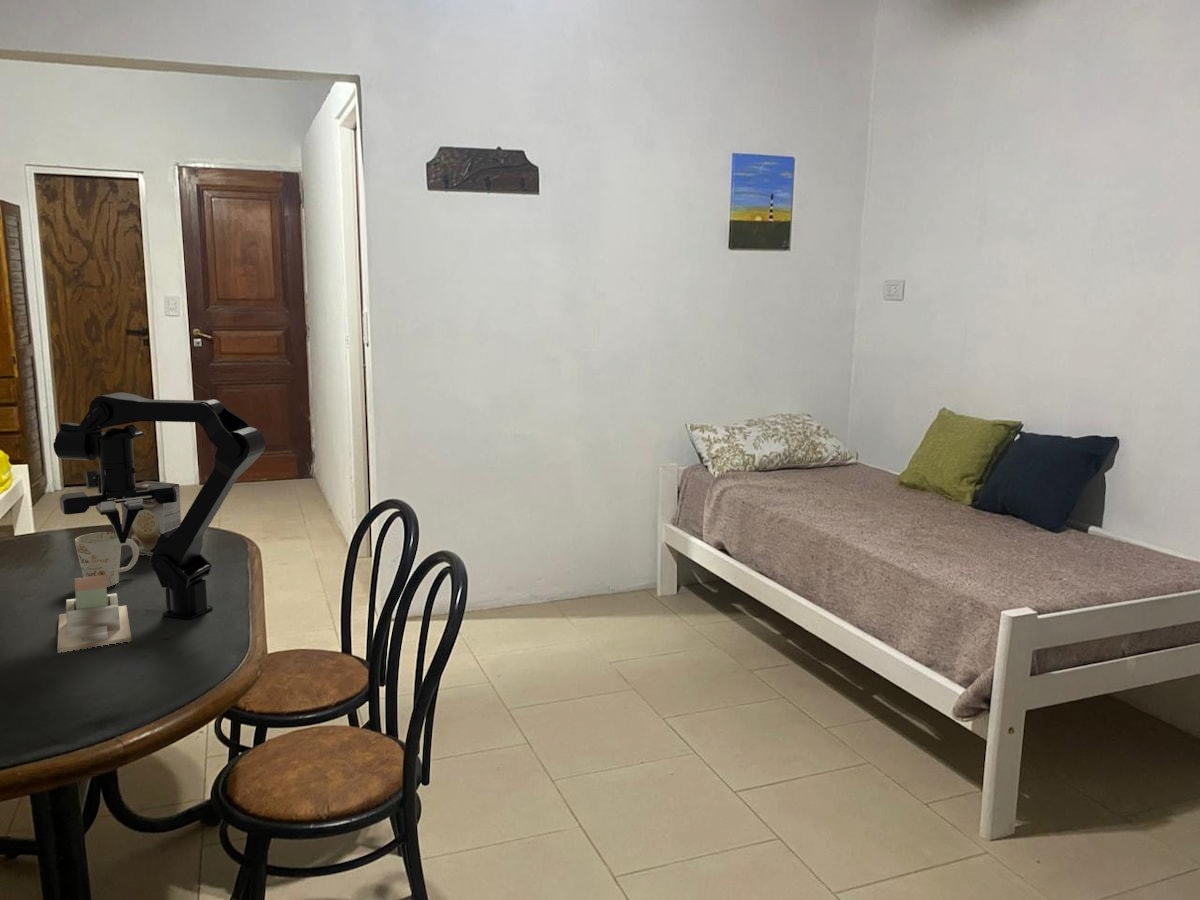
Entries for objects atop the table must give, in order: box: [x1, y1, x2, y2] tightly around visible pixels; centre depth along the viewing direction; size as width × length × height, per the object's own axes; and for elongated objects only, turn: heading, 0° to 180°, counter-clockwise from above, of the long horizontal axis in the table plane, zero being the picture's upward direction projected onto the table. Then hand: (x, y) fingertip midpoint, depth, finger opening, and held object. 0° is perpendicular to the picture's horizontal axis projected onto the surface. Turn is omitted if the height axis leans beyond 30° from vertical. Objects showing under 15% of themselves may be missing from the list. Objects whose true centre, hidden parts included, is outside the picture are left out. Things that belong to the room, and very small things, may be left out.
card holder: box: [57, 592, 132, 654], centre depth 163 cm, size 11×18×5 cm, turn 29°
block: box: [74, 575, 108, 610], centre depth 162 cm, size 5×5×8 cm
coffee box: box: [130, 480, 182, 557], centre depth 208 cm, size 9×6×16 cm
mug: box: [74, 531, 140, 588], centre depth 188 cm, size 8×13×10 cm, turn 152°
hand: (122, 542), depth 172 cm, fingers closed
